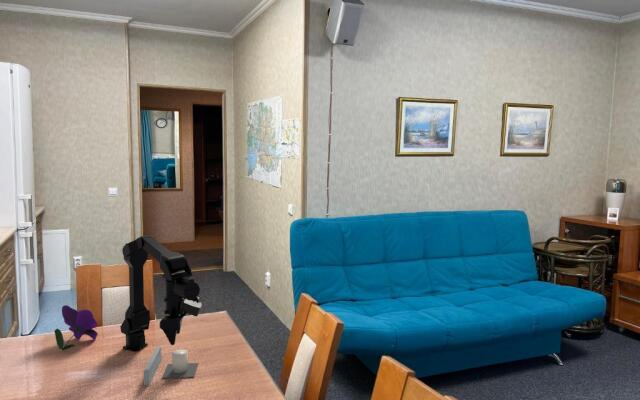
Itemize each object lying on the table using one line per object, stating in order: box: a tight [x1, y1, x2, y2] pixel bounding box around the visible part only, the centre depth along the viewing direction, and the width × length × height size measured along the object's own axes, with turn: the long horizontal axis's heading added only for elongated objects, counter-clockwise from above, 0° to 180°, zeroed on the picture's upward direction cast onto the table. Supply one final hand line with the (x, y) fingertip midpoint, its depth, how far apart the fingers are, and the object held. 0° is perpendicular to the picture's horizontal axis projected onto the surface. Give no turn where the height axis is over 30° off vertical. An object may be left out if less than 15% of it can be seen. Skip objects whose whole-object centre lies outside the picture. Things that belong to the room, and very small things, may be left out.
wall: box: [143, 346, 162, 386], centre depth 163 cm, size 18×2×5 cm, turn 6°
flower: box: [54, 304, 98, 351], centre depth 183 cm, size 15×15×14 cm
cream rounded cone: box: [171, 349, 189, 374], centre depth 164 cm, size 5×5×6 cm
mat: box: [161, 362, 199, 380], centre depth 164 cm, size 10×10×1 cm
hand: (175, 339), depth 164 cm, fingers open, 9 cm apart
